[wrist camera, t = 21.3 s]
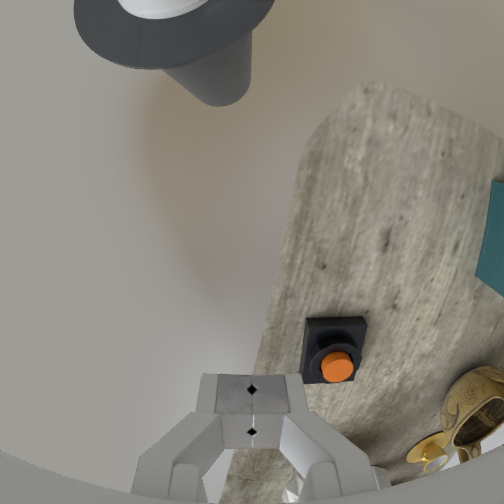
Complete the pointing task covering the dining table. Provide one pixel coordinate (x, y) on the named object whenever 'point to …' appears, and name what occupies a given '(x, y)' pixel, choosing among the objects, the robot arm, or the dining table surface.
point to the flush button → (336, 366)
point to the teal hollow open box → (493, 242)
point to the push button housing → (330, 344)
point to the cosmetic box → (381, 477)
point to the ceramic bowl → (473, 409)
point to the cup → (429, 452)
